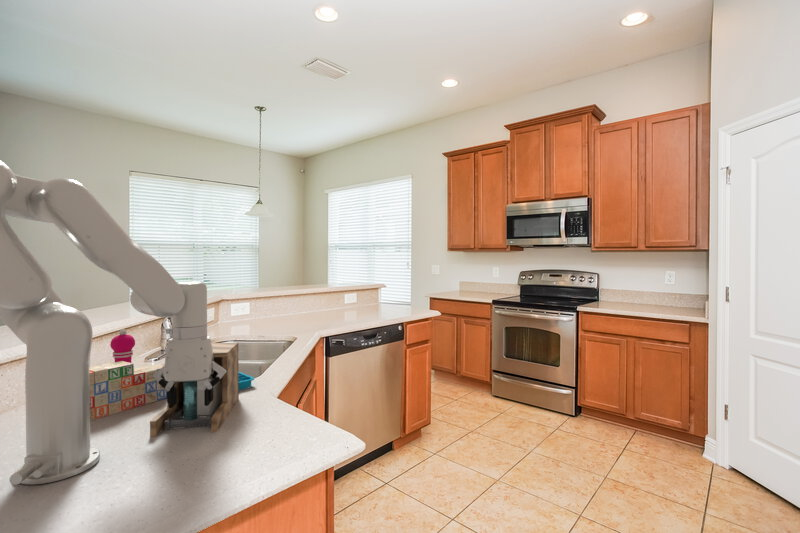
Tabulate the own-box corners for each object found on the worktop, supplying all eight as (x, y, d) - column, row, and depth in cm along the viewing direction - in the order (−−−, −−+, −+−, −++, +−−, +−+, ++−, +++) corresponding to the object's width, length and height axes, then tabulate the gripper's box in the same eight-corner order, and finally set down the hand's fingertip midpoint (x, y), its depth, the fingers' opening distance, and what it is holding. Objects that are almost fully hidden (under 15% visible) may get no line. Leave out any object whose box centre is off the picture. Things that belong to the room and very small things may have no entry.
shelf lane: (216, 432, 94) (216, 362, 94) (150, 436, 92) (149, 365, 92) (238, 398, 117) (238, 342, 117) (185, 401, 115) (185, 344, 114)
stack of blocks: (156, 394, 121) (156, 353, 121) (168, 398, 117) (167, 356, 117) (69, 418, 103) (69, 370, 102) (80, 423, 99) (79, 374, 99)
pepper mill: (142, 395, 119) (142, 328, 119) (115, 402, 113) (114, 332, 113) (130, 391, 123) (130, 326, 123) (103, 398, 117) (103, 329, 117)
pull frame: (212, 427, 97) (212, 382, 97) (163, 430, 95) (163, 384, 95) (230, 401, 115) (230, 363, 115) (190, 403, 113) (189, 364, 113)
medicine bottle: (197, 405, 112) (197, 362, 111) (223, 405, 111) (222, 362, 111) (183, 415, 105) (182, 369, 104) (210, 415, 104) (209, 370, 104)
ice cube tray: (227, 375, 142) (227, 366, 142) (256, 387, 128) (256, 378, 128) (192, 382, 133) (192, 373, 133) (220, 397, 120) (219, 387, 119)
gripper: (143, 336, 92) (144, 413, 92) (224, 334, 95) (224, 408, 95) (157, 330, 99) (158, 401, 100) (231, 328, 102) (232, 397, 103)
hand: (190, 404), depth 98 cm, fingers open, 7 cm apart
